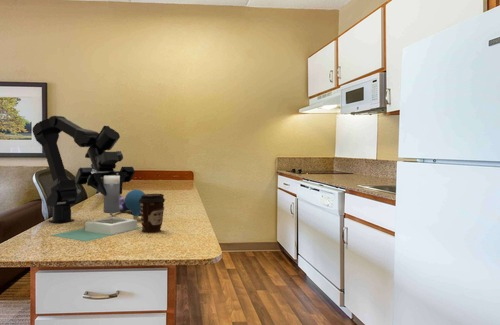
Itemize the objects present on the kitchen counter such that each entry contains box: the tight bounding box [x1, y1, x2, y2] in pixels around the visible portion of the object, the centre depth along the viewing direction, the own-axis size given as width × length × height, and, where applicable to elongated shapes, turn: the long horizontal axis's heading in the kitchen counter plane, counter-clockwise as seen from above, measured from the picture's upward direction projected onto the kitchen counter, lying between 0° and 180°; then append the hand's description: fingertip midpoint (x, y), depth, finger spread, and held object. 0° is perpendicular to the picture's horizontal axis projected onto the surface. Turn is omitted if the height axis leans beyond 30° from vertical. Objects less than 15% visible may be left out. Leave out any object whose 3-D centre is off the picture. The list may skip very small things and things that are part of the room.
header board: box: [49, 216, 142, 243], centre depth 130 cm, size 16×24×4 cm, turn 153°
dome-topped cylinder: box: [103, 175, 121, 214], centre depth 132 cm, size 5×5×12 cm
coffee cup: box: [139, 193, 166, 234], centre depth 132 cm, size 9×8×13 cm
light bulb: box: [124, 189, 146, 221], centre depth 155 cm, size 8×8×12 cm
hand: (113, 194), depth 131 cm, fingers closed on dome-topped cylinder, 5 cm apart
